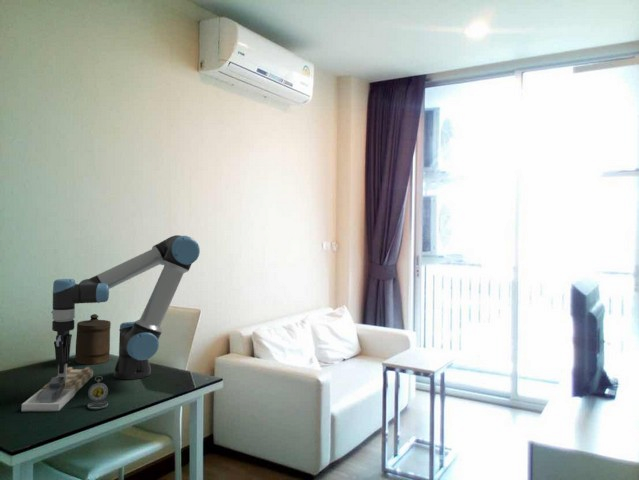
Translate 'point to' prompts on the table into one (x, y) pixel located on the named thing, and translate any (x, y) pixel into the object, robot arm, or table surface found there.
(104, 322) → the wooden container
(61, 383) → the gray cube
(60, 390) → the grey square block
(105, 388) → the pocket watch
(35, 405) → the tray
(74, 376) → the slot board
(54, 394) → the grey cubic block
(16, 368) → the table surface
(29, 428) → the table surface
